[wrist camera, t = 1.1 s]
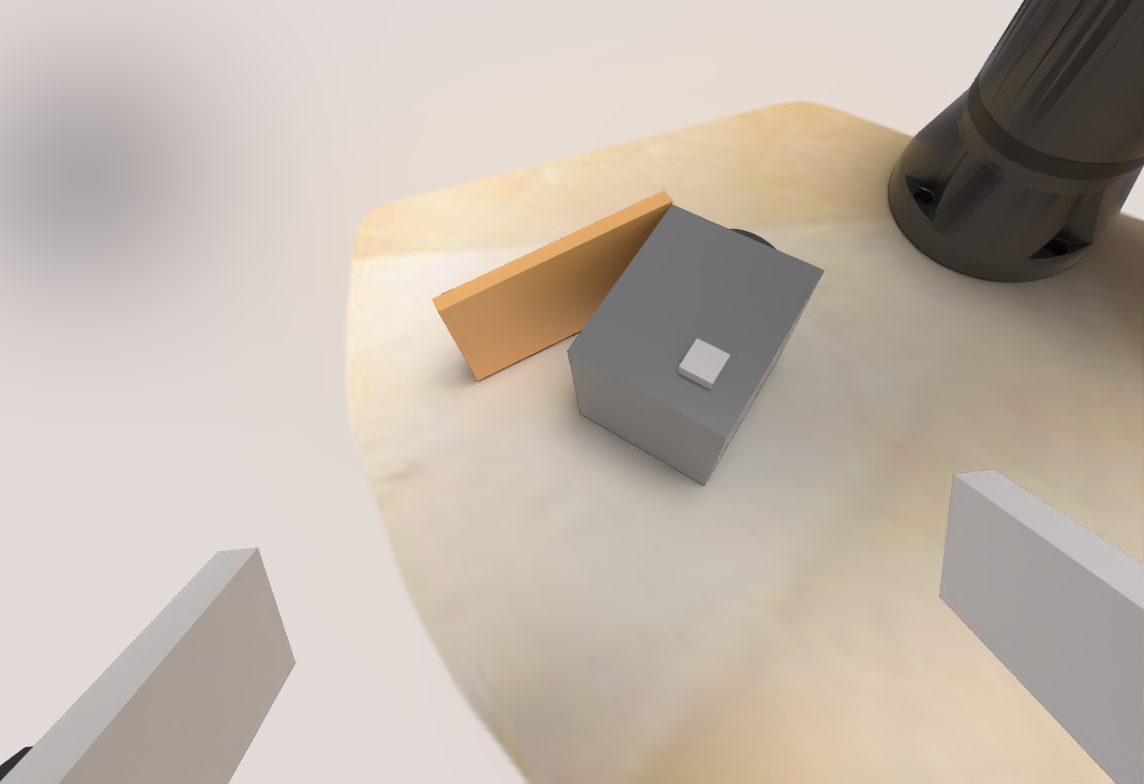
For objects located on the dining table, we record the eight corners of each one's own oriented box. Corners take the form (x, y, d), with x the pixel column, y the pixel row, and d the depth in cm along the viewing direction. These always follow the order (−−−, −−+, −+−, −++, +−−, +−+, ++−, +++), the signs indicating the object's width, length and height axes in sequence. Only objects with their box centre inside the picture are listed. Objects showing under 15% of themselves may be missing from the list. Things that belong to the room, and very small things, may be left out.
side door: (652, 273, 46) (657, 181, 37) (663, 290, 46) (672, 201, 36) (468, 362, 45) (427, 289, 35) (477, 380, 44) (437, 311, 35)
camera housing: (679, 268, 47) (692, 167, 37) (797, 324, 44) (847, 230, 34) (580, 414, 42) (565, 344, 33) (704, 485, 40) (729, 433, 30)
